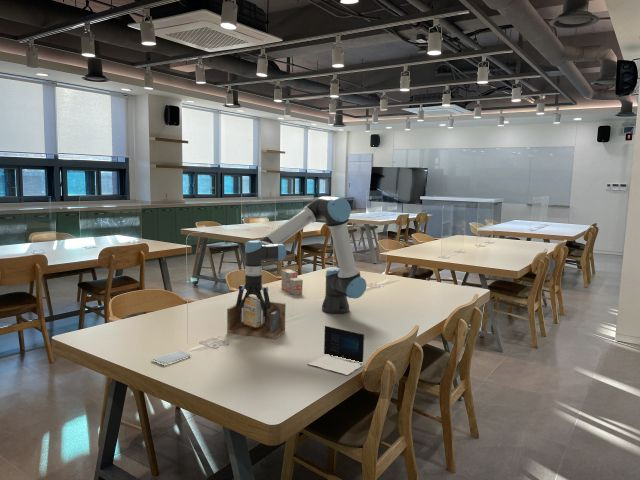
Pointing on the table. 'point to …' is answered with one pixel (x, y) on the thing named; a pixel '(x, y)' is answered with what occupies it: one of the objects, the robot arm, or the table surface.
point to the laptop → (344, 343)
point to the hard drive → (172, 357)
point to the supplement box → (252, 312)
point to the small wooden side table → (268, 330)
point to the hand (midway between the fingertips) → (253, 322)
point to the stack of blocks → (291, 282)
